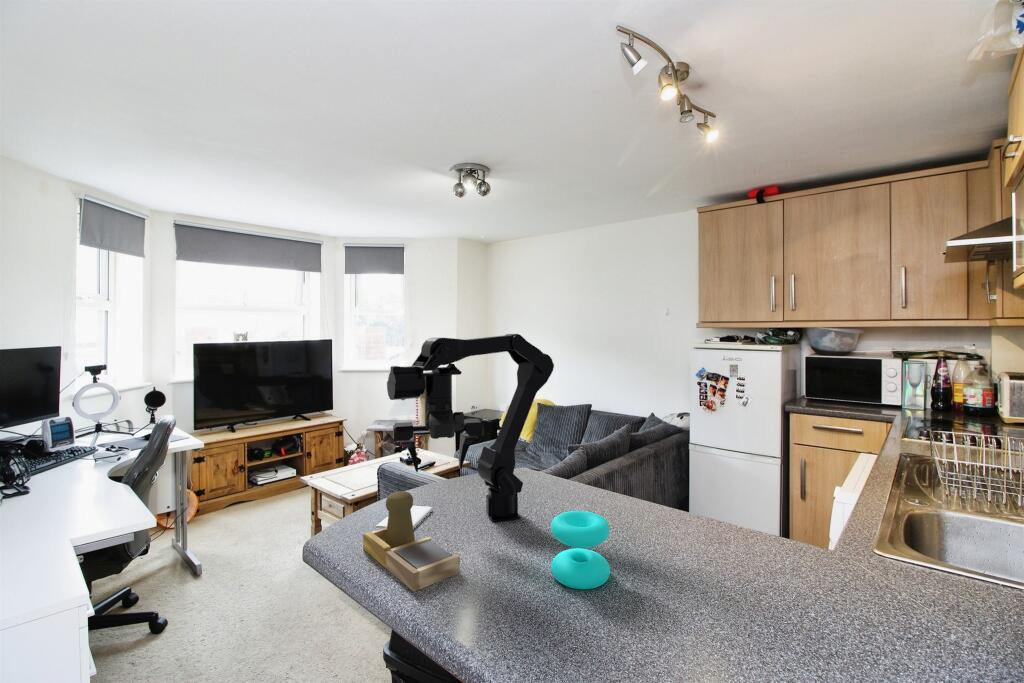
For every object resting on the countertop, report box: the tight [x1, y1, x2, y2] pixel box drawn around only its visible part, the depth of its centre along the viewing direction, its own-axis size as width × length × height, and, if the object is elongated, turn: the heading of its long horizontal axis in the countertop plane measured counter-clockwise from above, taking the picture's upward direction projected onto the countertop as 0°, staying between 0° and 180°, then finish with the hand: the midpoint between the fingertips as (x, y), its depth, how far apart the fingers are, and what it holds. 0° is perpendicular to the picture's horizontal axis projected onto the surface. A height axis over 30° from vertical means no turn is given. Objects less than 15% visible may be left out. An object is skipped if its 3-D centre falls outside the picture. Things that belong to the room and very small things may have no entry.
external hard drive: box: [375, 505, 434, 530], centre depth 106 cm, size 2×8×12 cm
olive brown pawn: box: [385, 490, 416, 549], centre depth 91 cm, size 6×6×11 cm
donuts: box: [550, 510, 611, 590], centre depth 80 cm, size 10×10×10 cm
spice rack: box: [362, 527, 461, 592], centre depth 87 cm, size 9×20×4 cm, turn 40°
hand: (438, 469), depth 100 cm, fingers open, 9 cm apart
